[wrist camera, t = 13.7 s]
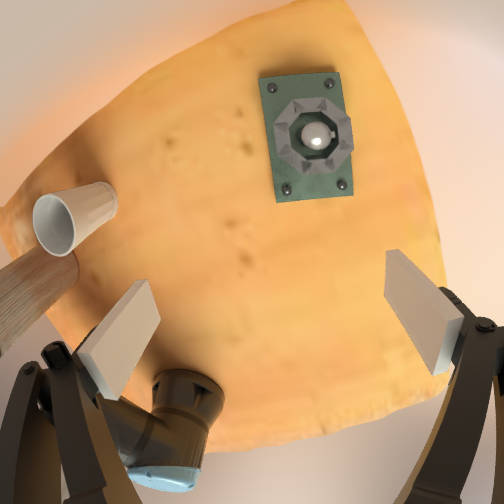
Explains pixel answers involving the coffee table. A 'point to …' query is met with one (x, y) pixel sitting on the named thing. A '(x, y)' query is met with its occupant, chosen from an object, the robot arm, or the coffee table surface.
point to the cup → (72, 215)
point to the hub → (329, 116)
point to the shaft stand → (304, 136)
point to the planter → (32, 290)
